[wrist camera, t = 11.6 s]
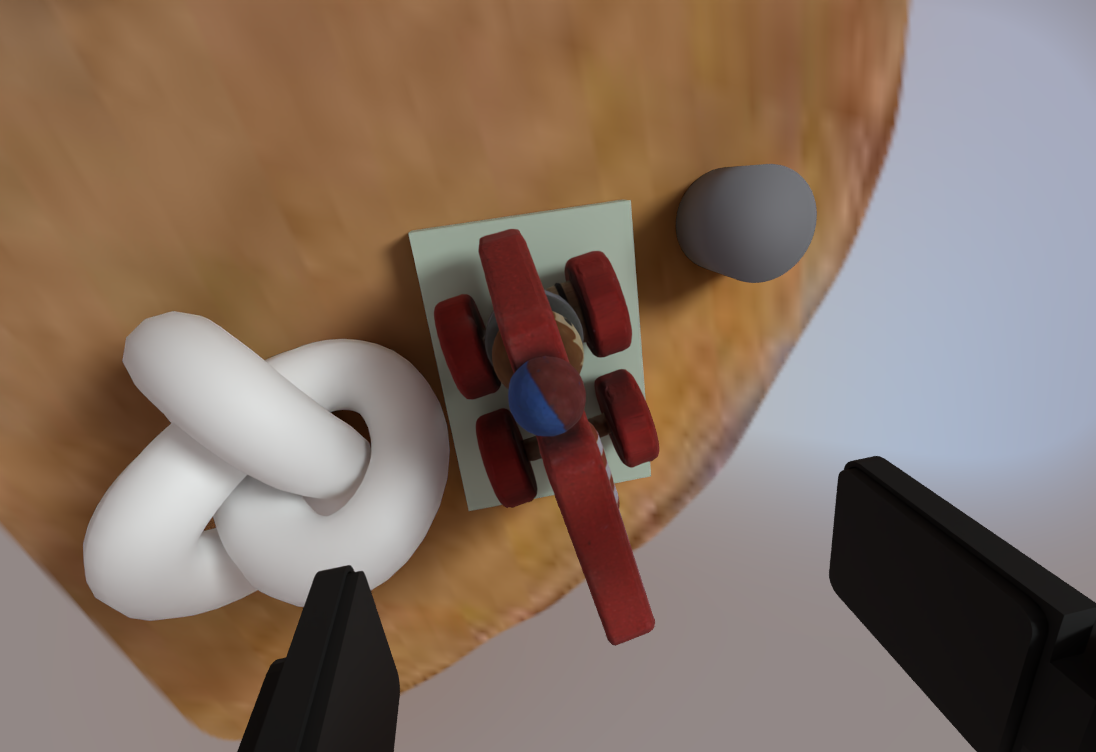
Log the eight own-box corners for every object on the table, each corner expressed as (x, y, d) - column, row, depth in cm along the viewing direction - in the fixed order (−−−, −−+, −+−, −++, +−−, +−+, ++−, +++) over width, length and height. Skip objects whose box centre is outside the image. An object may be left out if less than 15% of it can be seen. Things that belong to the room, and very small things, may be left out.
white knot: (87, 369, 22) (-142, 479, 14) (328, 216, 22) (238, 236, 13) (272, 552, 26) (181, 724, 18) (480, 428, 26) (485, 547, 17)
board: (411, 230, 22) (408, 233, 21) (622, 199, 23) (630, 200, 22) (468, 497, 27) (469, 511, 26) (643, 464, 27) (650, 476, 26)
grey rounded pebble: (674, 172, 23) (708, 169, 20) (772, 162, 23) (821, 159, 20) (675, 274, 24) (707, 288, 21) (766, 264, 25) (811, 276, 22)
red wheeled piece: (581, 199, 22) (674, 211, 12) (646, 457, 26) (753, 620, 16) (415, 251, 21) (370, 307, 12) (510, 502, 26) (534, 695, 16)
